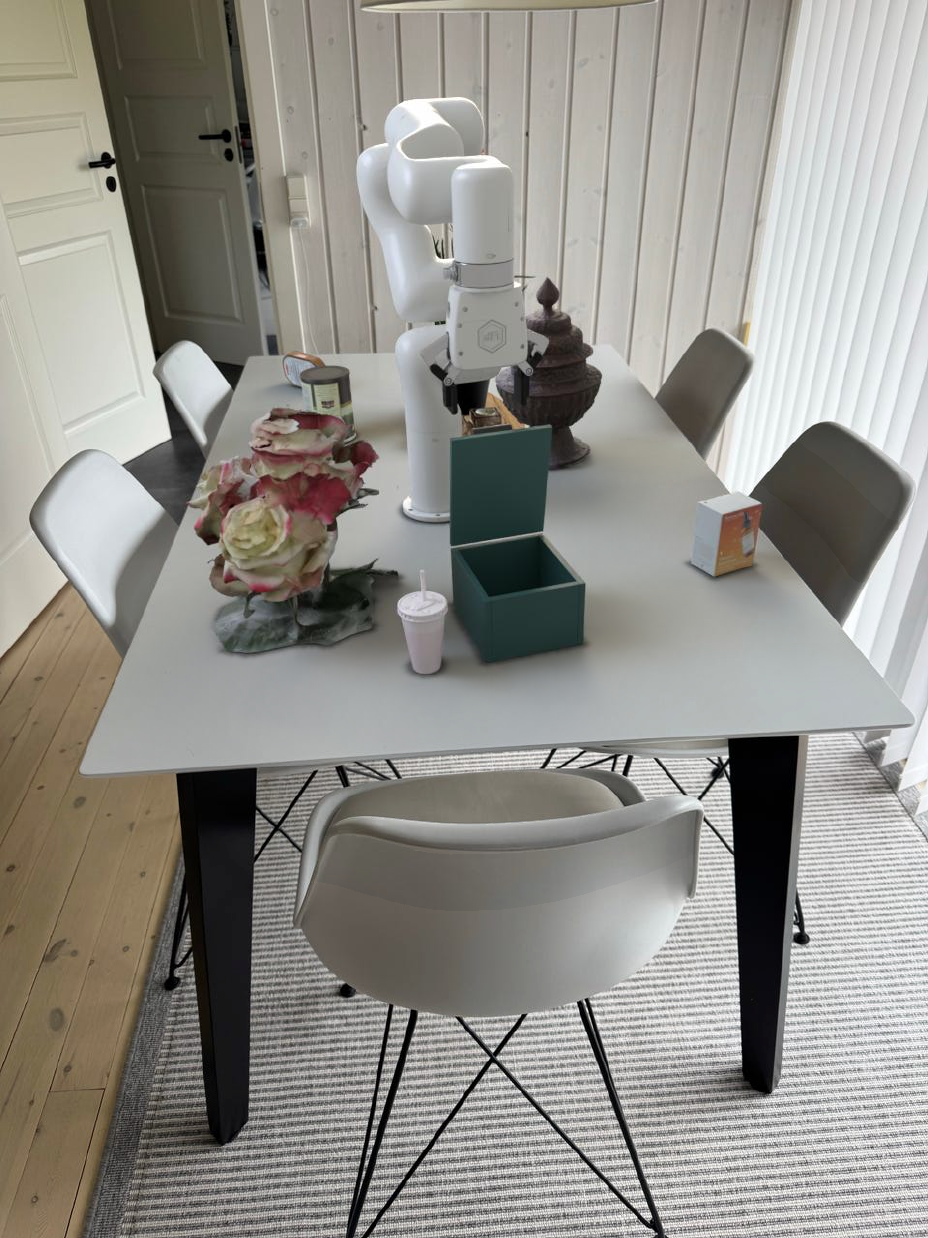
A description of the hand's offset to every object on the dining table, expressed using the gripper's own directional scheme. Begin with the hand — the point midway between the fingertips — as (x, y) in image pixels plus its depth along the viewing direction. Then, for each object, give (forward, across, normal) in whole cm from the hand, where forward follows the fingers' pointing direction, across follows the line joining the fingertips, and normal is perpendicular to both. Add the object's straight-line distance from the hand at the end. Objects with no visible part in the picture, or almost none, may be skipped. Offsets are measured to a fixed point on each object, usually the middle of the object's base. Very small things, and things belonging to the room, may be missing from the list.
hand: (486, 406), depth 122 cm
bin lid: (+10, 0, -6) cm, 11 cm away
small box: (+28, +36, -6) cm, 46 cm away
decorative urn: (+29, +27, +45) cm, 60 cm away
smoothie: (+28, -14, -18) cm, 36 cm away
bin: (+28, 0, -12) cm, 30 cm away
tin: (+30, -12, +110) cm, 115 cm away
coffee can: (+29, -12, +73) cm, 79 cm away
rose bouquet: (+28, -29, +2) cm, 40 cm away
